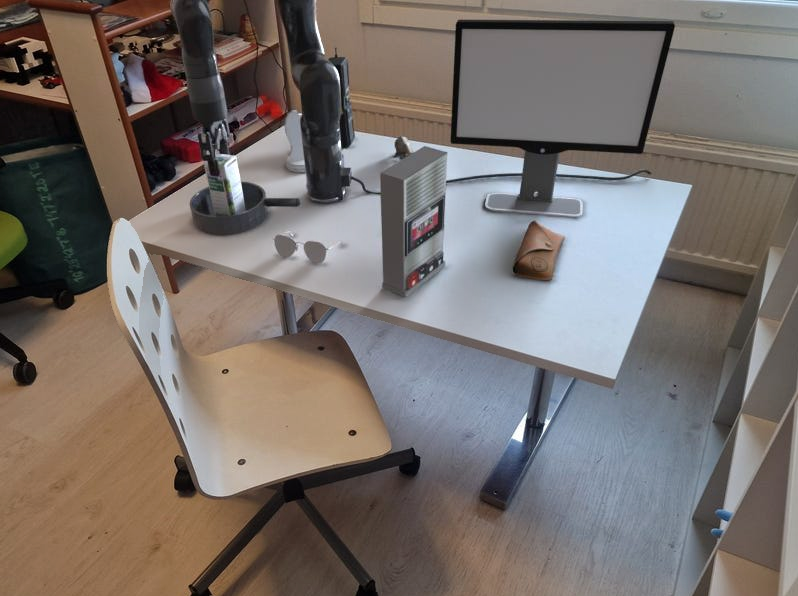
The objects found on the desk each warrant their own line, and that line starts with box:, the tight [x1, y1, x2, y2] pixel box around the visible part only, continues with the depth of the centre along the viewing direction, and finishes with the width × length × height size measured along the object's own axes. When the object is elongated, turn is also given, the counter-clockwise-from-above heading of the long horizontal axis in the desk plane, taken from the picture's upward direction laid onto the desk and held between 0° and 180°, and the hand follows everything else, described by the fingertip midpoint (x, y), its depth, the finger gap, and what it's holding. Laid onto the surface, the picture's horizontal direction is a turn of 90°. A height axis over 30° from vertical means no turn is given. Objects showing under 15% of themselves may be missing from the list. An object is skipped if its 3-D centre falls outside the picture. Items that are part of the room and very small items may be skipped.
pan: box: [189, 180, 269, 236], centre depth 154 cm, size 18×18×5 cm
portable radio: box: [327, 47, 356, 148], centre depth 176 cm, size 8×6×25 cm
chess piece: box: [284, 109, 306, 173], centre depth 170 cm, size 10×10×15 cm
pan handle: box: [264, 197, 302, 208], centre depth 151 cm, size 9×2×2 cm, turn 83°
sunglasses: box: [272, 231, 344, 264], centre depth 140 cm, size 14×8×5 cm, turn 65°
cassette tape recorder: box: [379, 145, 448, 298], centre depth 123 cm, size 14×6×25 cm, turn 139°
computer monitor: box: [449, 19, 676, 218], centre depth 137 cm, size 41×8×40 cm, turn 74°
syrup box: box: [203, 152, 246, 216], centre depth 150 cm, size 6×6×14 cm
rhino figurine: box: [394, 135, 415, 160], centre depth 170 cm, size 4×14×6 cm, turn 10°
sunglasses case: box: [512, 219, 566, 282], centre depth 133 cm, size 18×7×7 cm
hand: (220, 167), depth 147 cm, fingers open, 8 cm apart
